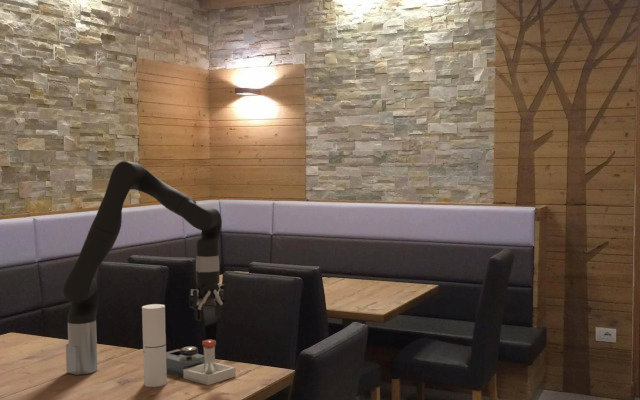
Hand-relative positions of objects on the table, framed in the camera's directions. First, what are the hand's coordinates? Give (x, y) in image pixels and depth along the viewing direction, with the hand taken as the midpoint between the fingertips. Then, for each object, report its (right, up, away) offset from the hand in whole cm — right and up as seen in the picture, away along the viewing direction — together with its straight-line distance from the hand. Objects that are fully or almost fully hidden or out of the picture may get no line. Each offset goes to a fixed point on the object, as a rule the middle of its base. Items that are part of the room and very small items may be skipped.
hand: (208, 318), depth 241 cm
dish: (0, -20, +1) cm, 20 cm away
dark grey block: (-11, -19, +10) cm, 24 cm away
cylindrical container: (-16, -20, -5) cm, 26 cm away
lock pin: (0, -19, +1) cm, 19 cm away
